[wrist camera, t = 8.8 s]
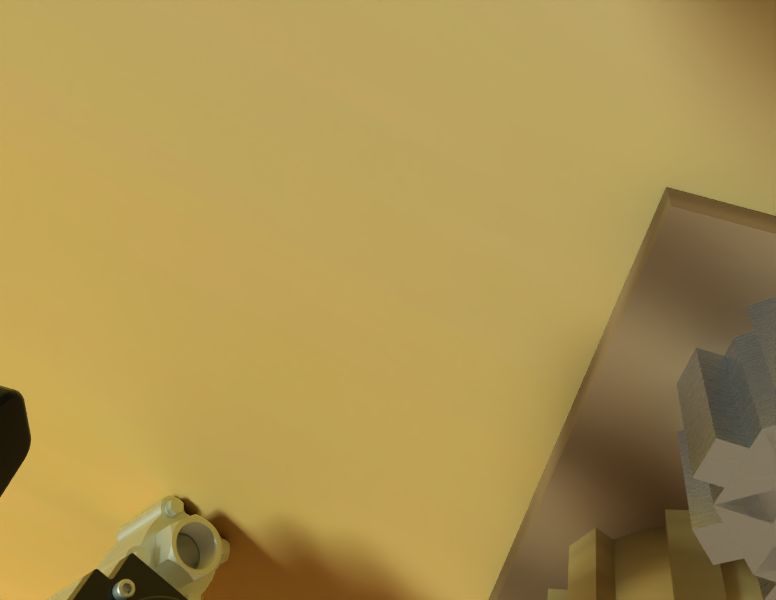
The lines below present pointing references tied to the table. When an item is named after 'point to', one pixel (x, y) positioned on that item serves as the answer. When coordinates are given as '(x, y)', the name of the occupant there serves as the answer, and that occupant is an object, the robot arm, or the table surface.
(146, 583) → the pneumatic valve
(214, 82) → the table surface
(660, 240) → the gear board
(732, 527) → the loose gear
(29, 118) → the table surface
